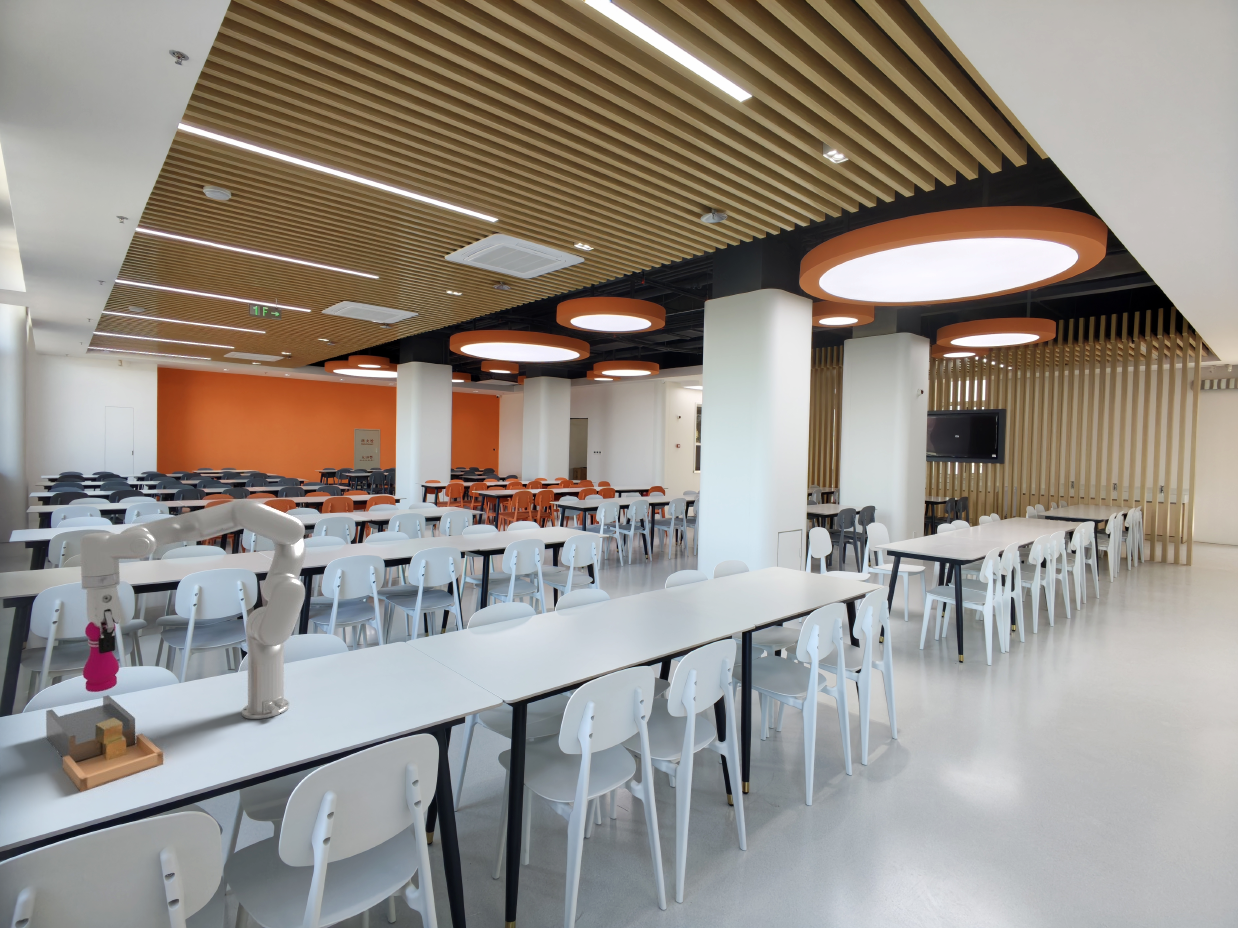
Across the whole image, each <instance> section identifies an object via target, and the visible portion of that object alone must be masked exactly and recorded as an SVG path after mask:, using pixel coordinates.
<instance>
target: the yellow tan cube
mask: <svg viewBox="0 0 1238 928" xmlns="http://www.w3.org/2000/svg"><path fill="white" fill-rule="evenodd" d="M122 725H123V723H122V722H121V721H119V720H117V719H115V718H112V719H109V720H106V721H103V722H101V723H98V724H96V731H95V739H96V740H98V741H99V742H101V743H103V744H106V743H108V742H111V741H113V740H116V739H119V738H121V737H122Z"/></svg>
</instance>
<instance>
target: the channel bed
mask: <svg viewBox="0 0 1238 928" xmlns="http://www.w3.org/2000/svg"><path fill="white" fill-rule="evenodd" d="M45 714H46V716H45V718H46V719H45V720H46V721H45V722H46V723H45V726H46V727H45V728H46V737H47V738H48V739H47V738H46V739H47V741H48V742H49V741H50V742H51V743H52V744H51V743H50V742H49V743H50V744H51V745H52V747H53V746H54V747H55V748H54V747H53V748H54V749H55V750H56V751H58V752H59V753H58V752H57V753H58V755H60V757H61V756H62V757H61V758H62V759H63V757H65V756H68V755H69V756H70V757H71V758H72V759H73V760H74V762H75V763H77V762H81V761H84V760H87V759H90V758H94V757H97V756H100V755H103V747H102V743H101V742H99V741H98V740H96V739H95V731H96V724H98V723H101V722H103V721H106V720H109V719H112V718H115V719H117V720H119V721H121V722H122V723H123V725H122V735H123V736H124V737H125V739H126V747H129V746H132V745H136V718H135V716H134V715H132V714H131V713H129V711H127V709H125V708H124V707H123V706H122V705H120V704H119V703H118V702H117V701H116V700H115V699H113V698H112V697H111V696H110V695H105V696H102V705H98V706H94V707H91V708H87V709H83V710H79V711H75V712H71V713H67V714H63V715H58V714H57V713H56V712H55V711H54V710H53V708H52V709H48V710H46V712H45Z"/></svg>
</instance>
